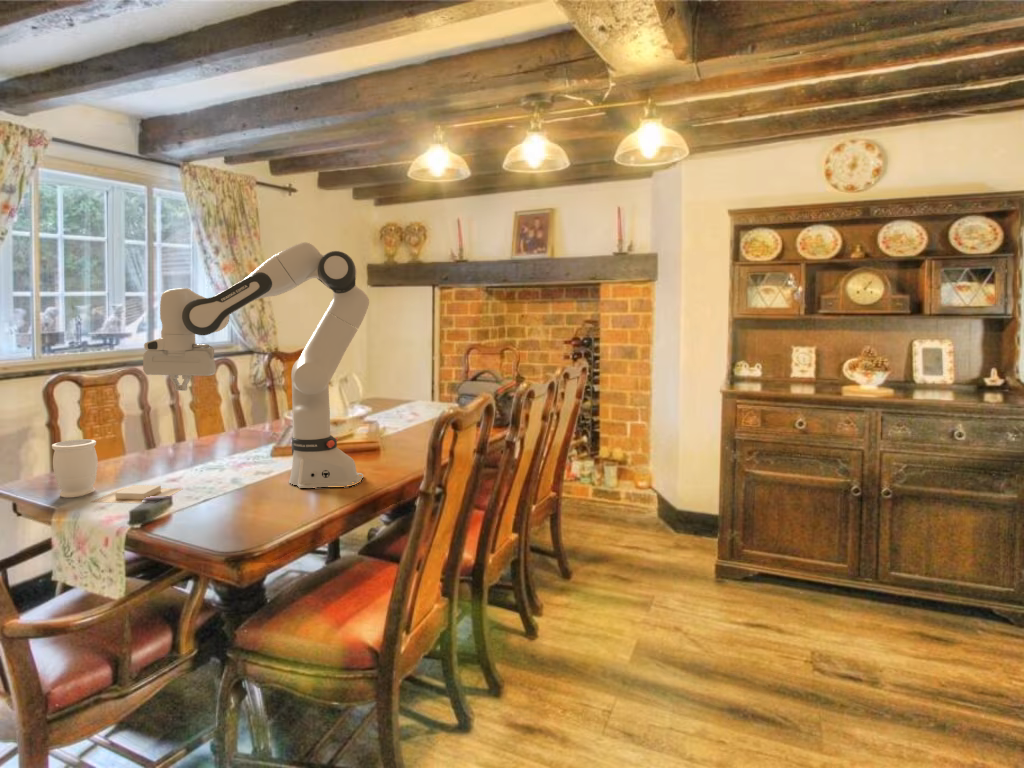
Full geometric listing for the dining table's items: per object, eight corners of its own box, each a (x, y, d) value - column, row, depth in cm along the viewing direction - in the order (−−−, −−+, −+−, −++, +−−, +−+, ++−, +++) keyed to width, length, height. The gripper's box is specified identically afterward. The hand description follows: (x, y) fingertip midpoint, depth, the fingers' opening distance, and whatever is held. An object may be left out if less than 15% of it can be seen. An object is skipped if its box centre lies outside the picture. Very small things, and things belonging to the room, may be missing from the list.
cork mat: (183, 490, 183) (183, 488, 183) (155, 505, 169) (154, 503, 169) (123, 489, 184) (123, 487, 184) (90, 504, 170) (89, 502, 170)
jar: (73, 488, 184) (70, 438, 183) (107, 488, 184) (104, 439, 182) (45, 499, 174) (41, 446, 172) (82, 499, 173) (78, 447, 172)
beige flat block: (160, 485, 180) (133, 485, 180) (143, 493, 172) (115, 493, 172) (161, 491, 180) (133, 490, 180) (144, 499, 172) (115, 499, 172)
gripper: (218, 343, 186) (220, 389, 188) (151, 342, 187) (154, 388, 188) (208, 344, 180) (210, 392, 181) (138, 343, 180) (141, 391, 182)
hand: (181, 390), depth 185 cm, fingers closed
